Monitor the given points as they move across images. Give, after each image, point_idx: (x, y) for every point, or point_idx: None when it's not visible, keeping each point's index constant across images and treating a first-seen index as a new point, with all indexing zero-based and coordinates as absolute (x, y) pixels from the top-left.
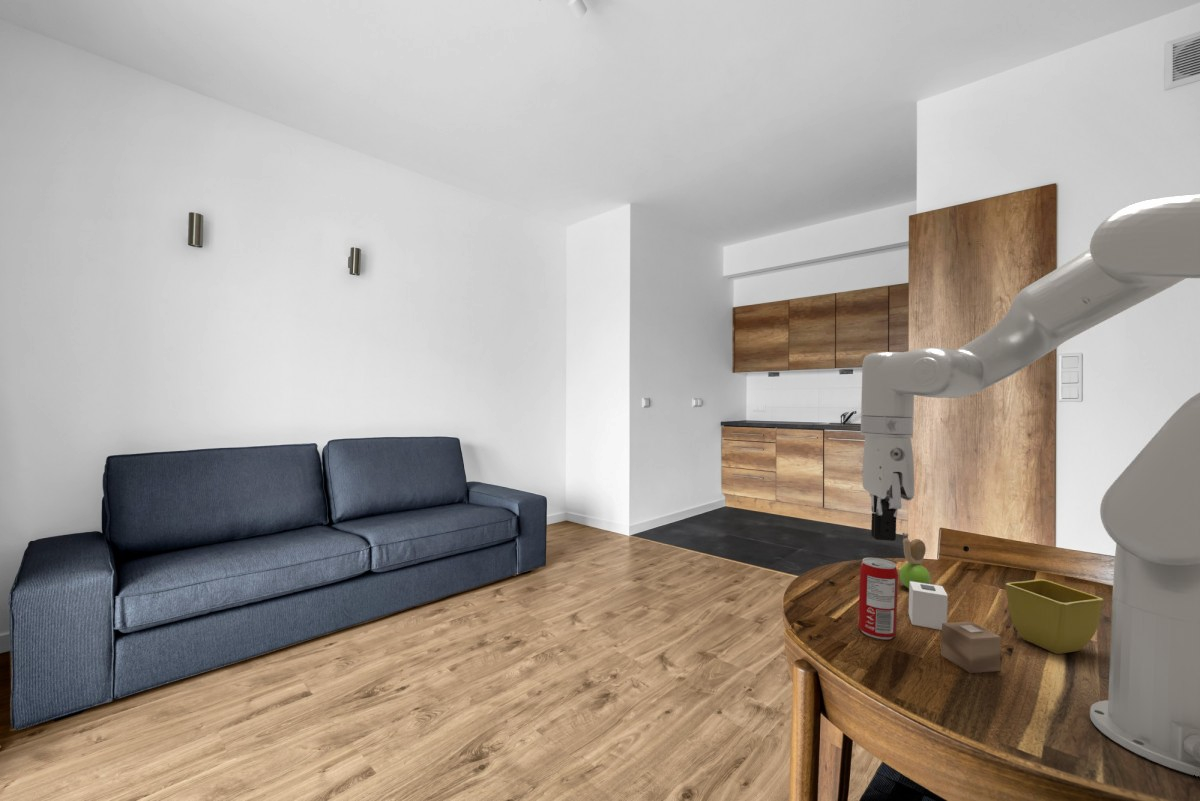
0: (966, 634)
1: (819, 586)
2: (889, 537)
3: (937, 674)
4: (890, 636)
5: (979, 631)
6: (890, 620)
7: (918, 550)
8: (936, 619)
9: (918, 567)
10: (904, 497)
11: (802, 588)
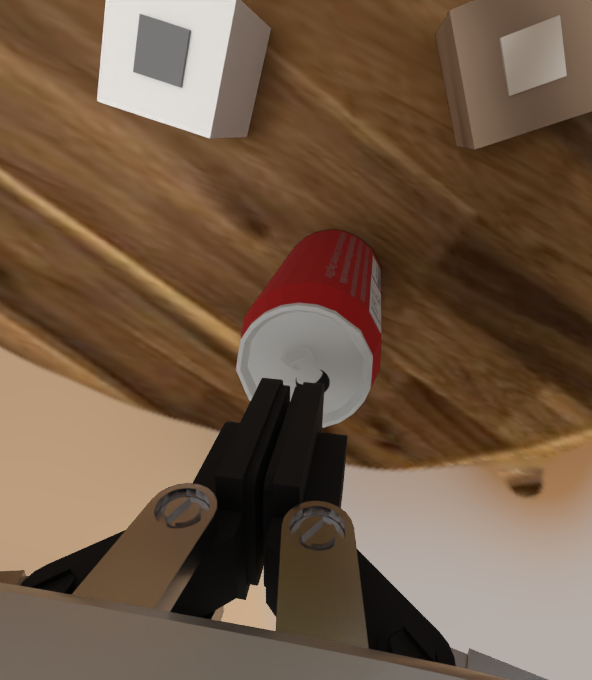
0: (575, 102)
1: (33, 317)
2: (320, 419)
3: (572, 216)
4: (377, 261)
5: (560, 31)
6: (378, 276)
7: None
8: (255, 57)
9: None
10: (303, 639)
11: (71, 369)
